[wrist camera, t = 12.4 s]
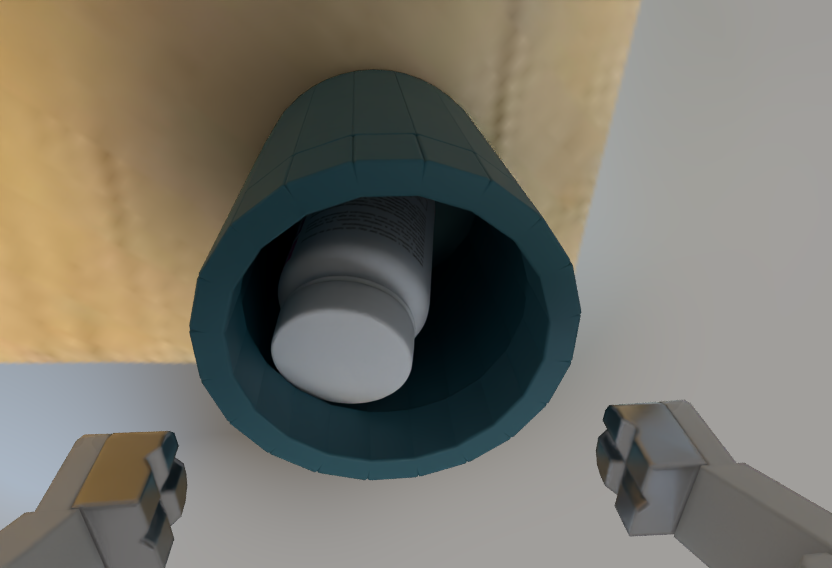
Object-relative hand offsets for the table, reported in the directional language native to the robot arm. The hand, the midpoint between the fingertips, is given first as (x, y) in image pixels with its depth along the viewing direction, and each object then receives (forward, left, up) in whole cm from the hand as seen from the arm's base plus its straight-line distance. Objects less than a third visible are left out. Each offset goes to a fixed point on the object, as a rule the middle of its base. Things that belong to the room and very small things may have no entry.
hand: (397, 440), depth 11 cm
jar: (0, 0, -14) cm, 14 cm away
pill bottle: (0, 0, -13) cm, 13 cm away
